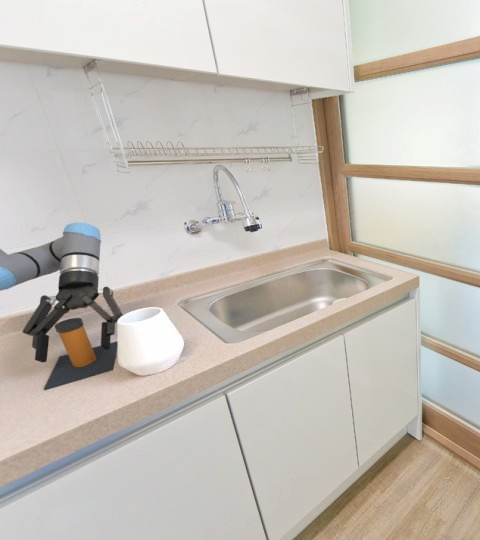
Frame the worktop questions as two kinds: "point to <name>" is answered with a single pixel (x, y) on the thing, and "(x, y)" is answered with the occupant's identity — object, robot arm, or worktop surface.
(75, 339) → the vial
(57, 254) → the robot arm
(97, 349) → the mat
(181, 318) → the worktop surface
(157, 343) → the white vase
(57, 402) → the worktop surface
